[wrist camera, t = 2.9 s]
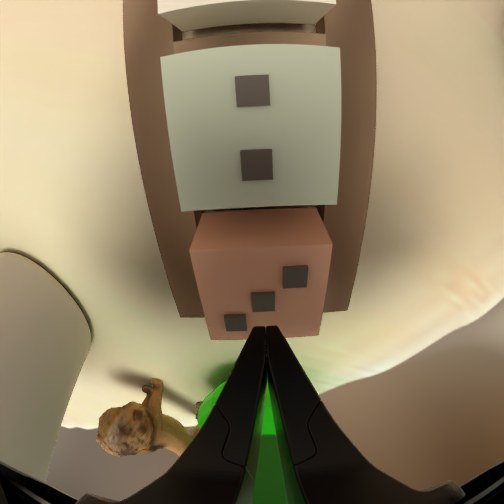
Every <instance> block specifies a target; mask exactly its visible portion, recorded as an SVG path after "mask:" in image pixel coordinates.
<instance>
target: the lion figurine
mask: <svg viewBox="0 0 504 504" xmlns="http://www.w3.org/2000/svg"><path fill="white" fill-rule="evenodd" d="M150 383H151V384H152V385H153V387H152V388H153V389H152V388H151V387H148V386H143V387H142V391H143V392H145V393H147V396H146V398H145V400H144V401H143V403H142V404H138V403H136V402H129V403H128V404H126V405H124V406H123V407H117V408H110V409H108V410H106V412H104V413H103V414H102V416H101V417H100V418H99V427H98V435H97V438H96V441H97V442H98V443H100V446H101V447H102V448H103V449H104V450H105V451H106V452H108V453H110V454H112V455H115V456H127V455H136V454H137V453H151V452H154V451H156V450H157V449H160V448H166V449H169V450H171V451H173V452H175V453H176V454H177V455H179V456H181V454H182V453H183V452H184V450H185V449H186V448H187V446H188V445H189V444H190V442H191V441H192V440H193V439H194V437H195V436H196V434H197V433H198V431H199V430H200V428H199V424H198V425H197V426H195V427H192V428H190V429H187V430H186V429H185V428H184V426H183V425H182V424H181V423H180V422H179V421H177V420H176V419H174V418H172V417H170V416H167V415H164V414H162V410H161V400H162V392H163V383H162V381H161V380H159V379H154V378H153V379H152V380H151V381H150ZM201 404H202V402H200V403H197V404H196V407H197V408H198V409H199V408H200V406H201ZM196 419H197V420H198V414H197V415H196Z"/></svg>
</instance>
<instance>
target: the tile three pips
mask: <svg viewBox="0 0 504 504" xmlns="http://www.w3.org/2000/svg"><path fill="white" fill-rule="evenodd" d="M332 246H333V244H332V241H331V239H330V237H329V235H328V232H327V230H326V228H325V226H324V224H323V221H322V219H321V217H320V215H319V213H318V211H317V208H283V209H259V210H239V211H221V212H206V213H202V216H201V219H200V221H199V224H198V227H197V230H196V232H195V235H194V238H193V241H192V244H191V247H190V250H189V252H190V256H191V261H192V265H193V270H194V274H195V279H196V283H197V287H198V291H199V295H200V299H201V303H202V307H203V311H204V315H205V319H206V323H207V327H208V330H209V334H210V338H211V340H239V339H248V336H249V334H250V332H251V330H252V328H253V327H254V326H265V329H266V326H272V325H277V326H278V327H279V329H280V330H281V332H282V334H283V336H284V337H285V338H289V337H304V336H316V335H319V330H320V324H321V319H322V313H323V308H324V302H325V295H326V289H327V283H328V276H329V269H330V261H331V254H332Z"/></svg>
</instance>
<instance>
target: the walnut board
mask: <svg viewBox="0 0 504 504" xmlns="http://www.w3.org/2000/svg"><path fill="white" fill-rule="evenodd" d="M123 30H124V50H125V64H126V75H127V85H128V94H129V102H130V110H131V117H132V124H133V130H134V136H135V142H136V148H137V154H138V159H139V164H140V169H141V174H142V179H143V184H144V189H145V193H146V198H147V202H148V206H149V211H150V215H151V219H152V223H153V227H154V231H155V235H156V238H157V242H158V246H159V249H160V253H161V257H162V260H163V264H164V267H165V270H166V274H167V277H168V280H169V284H170V287H171V290H172V293H173V296H174V299H175V302H176V305H177V308H178V311H179V314H180V317H205V315H204V311H203V307H202V303H201V299H200V295H199V291H198V287H197V283H196V279H195V274H194V270H193V265H192V261H191V256H190V252H189V250H190V247H191V244H192V241H193V238H194V235H195V232H196V230H197V227H198V224H199V221H200V219H201V216H202V211H201V210H197V211H184V212H181V207H180V202H179V196H178V191H177V185H176V179H175V173H174V167H173V160H172V154H171V147H170V140H169V133H168V126H167V118H166V110H165V101H164V92H163V82H162V72H161V60H160V57H163V56H168V55H173V54H178V53H183V52H189V51H195V50H202V49H209V48H217V47H227V46H238V45H255V44H300V45H317V46H329V47H338V48H340V60H341V146H340V167H339V183H338V196H337V205H317V211H318V213H319V215H320V217H321V219H322V221H323V224H324V226H325V228H326V230H327V232H328V235H329V237H330V239H331V241H332V244H333V246H332V254H331V261H330V269H329V276H328V283H327V289H326V295H325V302H324V308H323V312H335V311H346V310H348V306H349V302H350V298H351V293H352V289H353V285H354V280H355V276H356V271H357V266H358V261H359V256H360V251H361V246H362V240H363V234H364V228H365V222H366V216H367V209H368V202H369V194H370V186H371V177H372V167H373V156H374V143H375V126H376V50H375V35H374V23H373V13H372V5H371V0H336V5H335V6H334V7H333V8H332V9H331V10H330V11H328V12H327V13H326V14H325V15H324V16H323V17H322V18H321V19H320V20H319V21H318V22H317V23H316V32H317V33H305V32H248V33H233V34H223V35H214V36H206V37H199V38H193V39H187V40H182V31H181V30H180V29H178V28H177V27H176V26H174V25H173V24H171V23H170V22H169V21H167V20H166V19H164V18H163V17H161V16H160V15H158V3H157V0H123Z"/></svg>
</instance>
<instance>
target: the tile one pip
mask: <svg viewBox="0 0 504 504" xmlns="http://www.w3.org/2000/svg"><path fill="white" fill-rule="evenodd" d="M157 3H158V15H160V16H161V17H163V18H164V19H166V20H167V21H169V22H170V23H171V24H173V25H174V26H176V27H177V28H178V29H180V30H181V31H189V30H195V29H201V28H208V27H216V26H225V25H237V24H253V23H297V24H313V25H315V24H316V23H317V22H318V21H319V20H320V19H321V18H322V17H323V16H324V15H325V14H326V13H327V12H328V11H330V10H331V9H332V8H333V7H334V6H335V5H336V0H157Z"/></svg>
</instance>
